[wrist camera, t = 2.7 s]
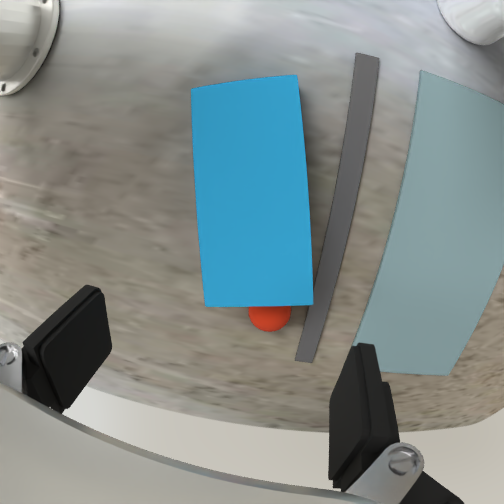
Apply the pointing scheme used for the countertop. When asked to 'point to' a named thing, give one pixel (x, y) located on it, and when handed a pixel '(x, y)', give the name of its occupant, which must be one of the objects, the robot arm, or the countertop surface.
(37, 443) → the robot arm
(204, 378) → the countertop surface
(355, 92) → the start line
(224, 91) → the lever
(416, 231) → the mat
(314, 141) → the countertop surface
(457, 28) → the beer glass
